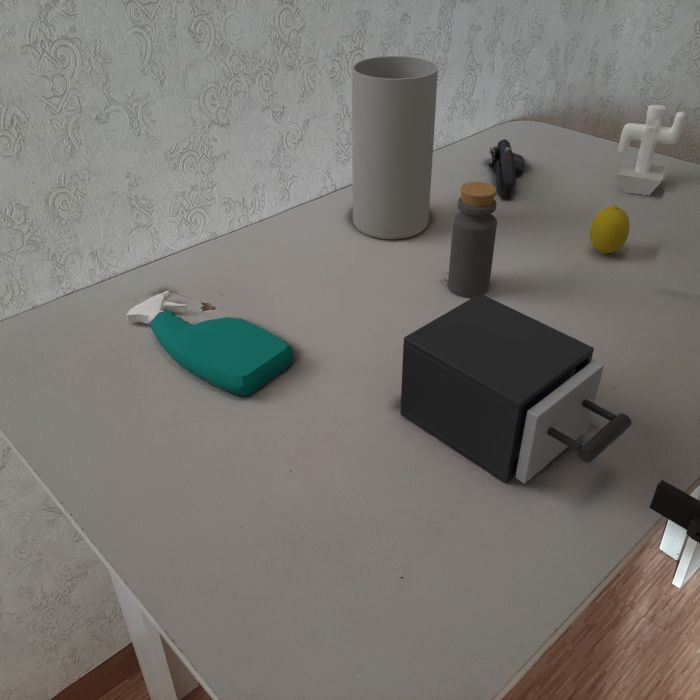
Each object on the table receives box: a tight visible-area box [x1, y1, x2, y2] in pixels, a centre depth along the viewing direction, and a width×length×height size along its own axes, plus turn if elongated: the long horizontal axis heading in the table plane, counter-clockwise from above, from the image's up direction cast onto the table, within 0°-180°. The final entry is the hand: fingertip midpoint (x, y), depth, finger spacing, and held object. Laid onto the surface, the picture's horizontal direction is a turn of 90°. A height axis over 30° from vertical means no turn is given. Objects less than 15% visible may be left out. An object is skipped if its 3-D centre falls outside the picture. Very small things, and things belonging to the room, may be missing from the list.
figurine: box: [617, 104, 687, 196], centre depth 125 cm, size 7×9×15 cm
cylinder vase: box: [351, 55, 439, 240], centre depth 111 cm, size 12×12×25 cm
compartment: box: [514, 359, 633, 485], centre depth 73 cm, size 18×11×9 cm, turn 43°
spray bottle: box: [126, 290, 295, 397], centre depth 91 cm, size 3×11×24 cm
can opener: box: [488, 139, 526, 200], centre depth 131 cm, size 18×7×6 cm, turn 170°
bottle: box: [447, 181, 498, 298], centre depth 98 cm, size 6×6×15 cm
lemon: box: [589, 204, 630, 255], centre depth 107 cm, size 6×6×8 cm
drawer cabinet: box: [399, 294, 595, 485], centre depth 76 cm, size 15×13×11 cm
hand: (694, 452), depth 61 cm, fingers open, 13 cm apart
